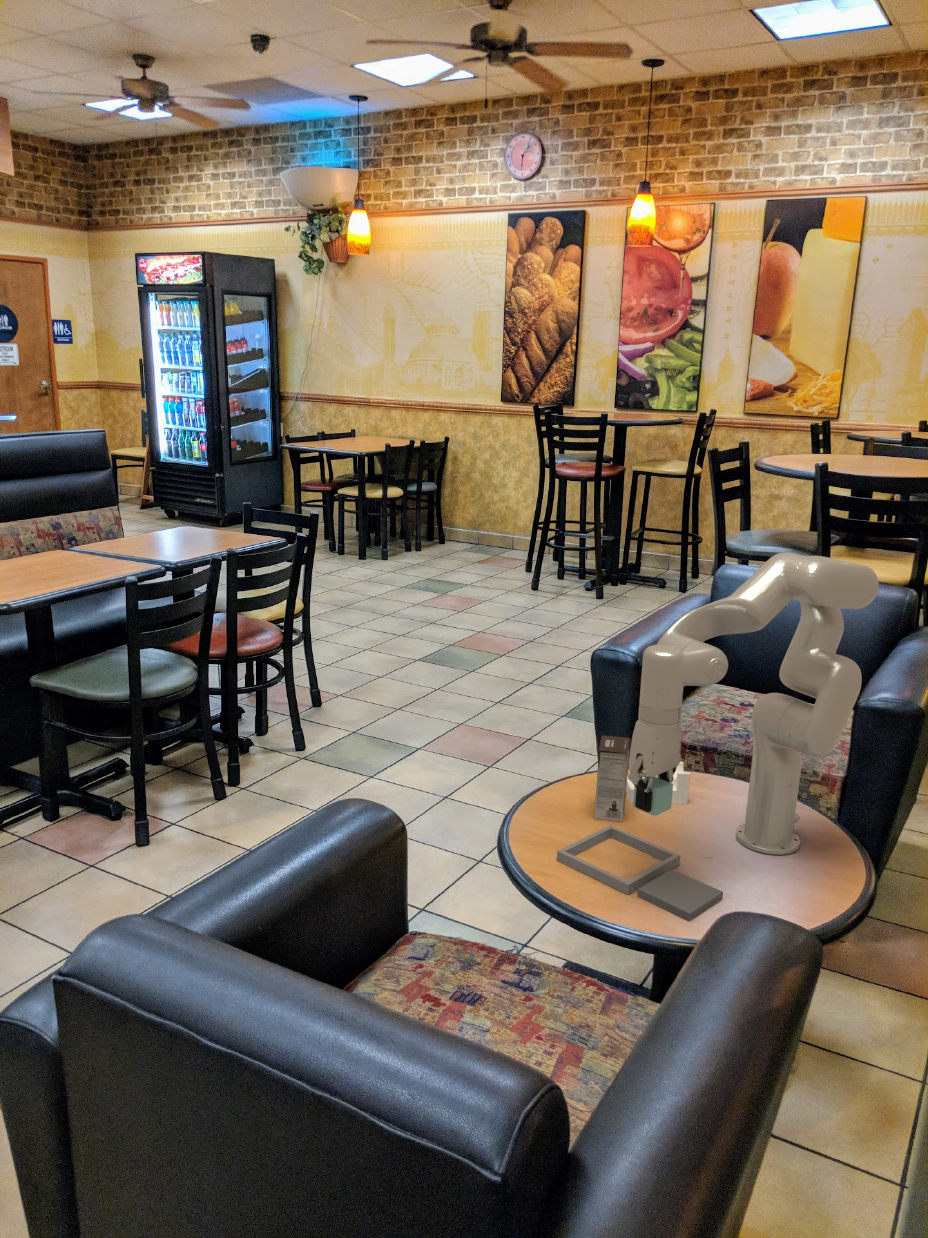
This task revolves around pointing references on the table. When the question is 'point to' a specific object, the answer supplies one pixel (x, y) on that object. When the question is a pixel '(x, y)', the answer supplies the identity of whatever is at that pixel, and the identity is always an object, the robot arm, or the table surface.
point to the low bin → (607, 878)
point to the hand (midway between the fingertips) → (652, 804)
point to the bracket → (679, 786)
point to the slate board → (680, 894)
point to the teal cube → (658, 796)
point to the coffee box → (612, 778)
